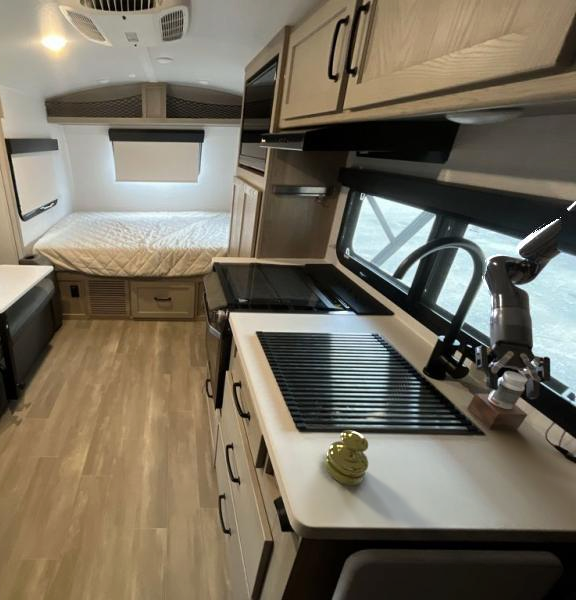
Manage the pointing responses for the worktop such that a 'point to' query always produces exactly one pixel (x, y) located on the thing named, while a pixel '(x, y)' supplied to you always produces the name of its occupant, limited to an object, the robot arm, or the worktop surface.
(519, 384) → the pill bottle
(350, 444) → the gold metal rounded figure
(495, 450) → the worktop surface
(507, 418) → the walnut block
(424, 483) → the worktop surface
